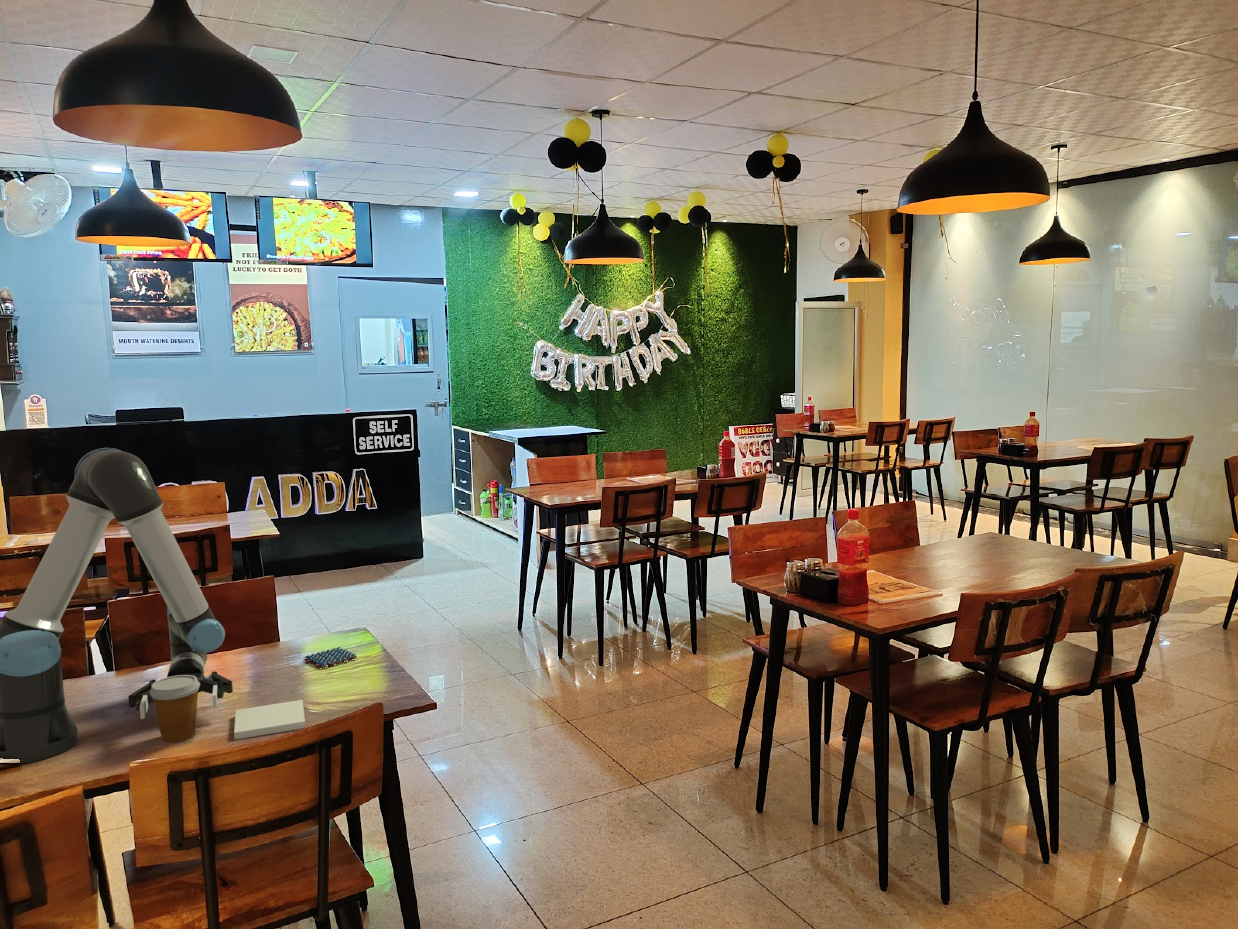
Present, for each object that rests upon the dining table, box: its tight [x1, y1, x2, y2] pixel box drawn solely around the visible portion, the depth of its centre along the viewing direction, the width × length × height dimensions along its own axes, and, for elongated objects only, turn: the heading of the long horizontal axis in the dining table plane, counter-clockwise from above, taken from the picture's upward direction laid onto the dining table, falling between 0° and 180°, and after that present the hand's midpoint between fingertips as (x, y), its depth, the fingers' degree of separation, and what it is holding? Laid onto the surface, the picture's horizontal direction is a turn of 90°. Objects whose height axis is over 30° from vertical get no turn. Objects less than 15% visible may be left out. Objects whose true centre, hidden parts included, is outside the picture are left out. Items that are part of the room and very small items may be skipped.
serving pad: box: [233, 699, 306, 740], centre depth 190 cm, size 14×13×2 cm
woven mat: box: [303, 646, 357, 669], centre depth 228 cm, size 10×11×2 cm
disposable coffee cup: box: [149, 675, 200, 744], centre depth 182 cm, size 10×10×12 cm
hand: (178, 707), depth 181 cm, fingers open, 13 cm apart
